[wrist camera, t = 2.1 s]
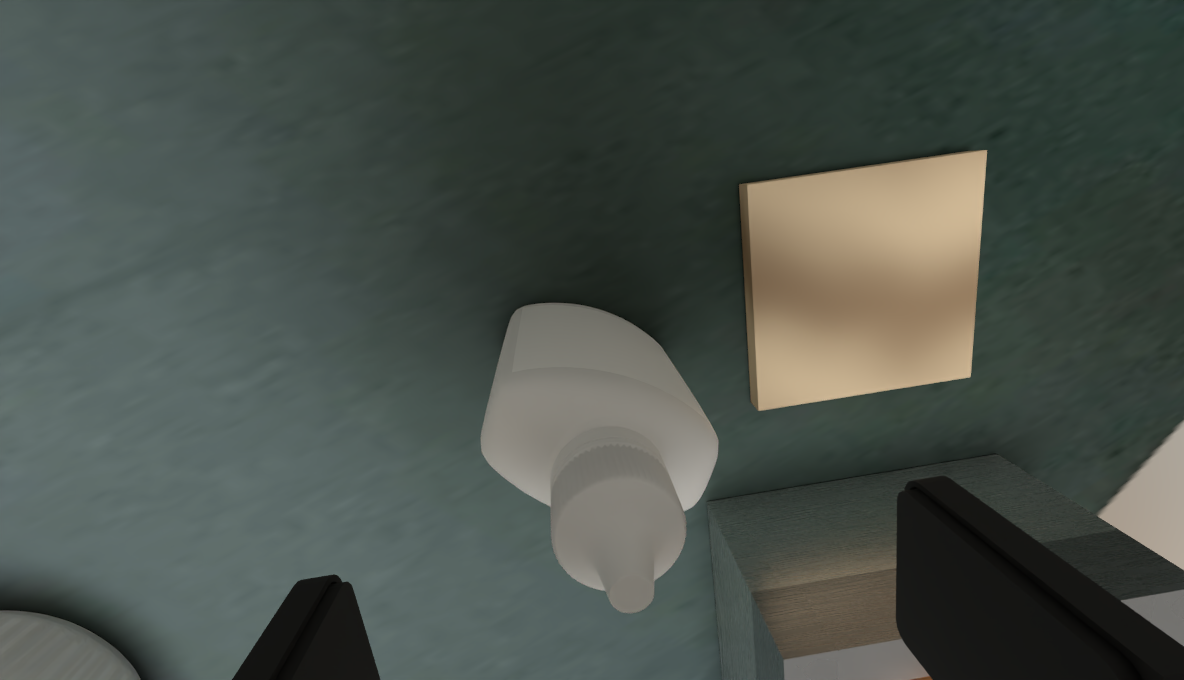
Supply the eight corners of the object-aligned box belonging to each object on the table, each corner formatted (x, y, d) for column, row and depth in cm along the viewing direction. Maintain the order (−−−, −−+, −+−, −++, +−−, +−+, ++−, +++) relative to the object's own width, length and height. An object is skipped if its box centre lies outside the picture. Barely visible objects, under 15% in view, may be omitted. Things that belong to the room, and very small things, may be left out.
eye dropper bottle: (571, 252, 19) (610, 376, 7) (678, 362, 20) (850, 609, 9) (482, 339, 19) (390, 578, 8) (592, 440, 21) (647, 764, 9)
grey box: (706, 501, 22) (783, 659, 15) (1002, 453, 22) (1214, 583, 15) (725, 725, 26) (795, 939, 18) (980, 679, 26) (1145, 871, 19)
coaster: (739, 184, 19) (747, 184, 18) (969, 150, 19) (986, 150, 18) (751, 402, 21) (758, 410, 20) (955, 369, 21) (970, 377, 20)
